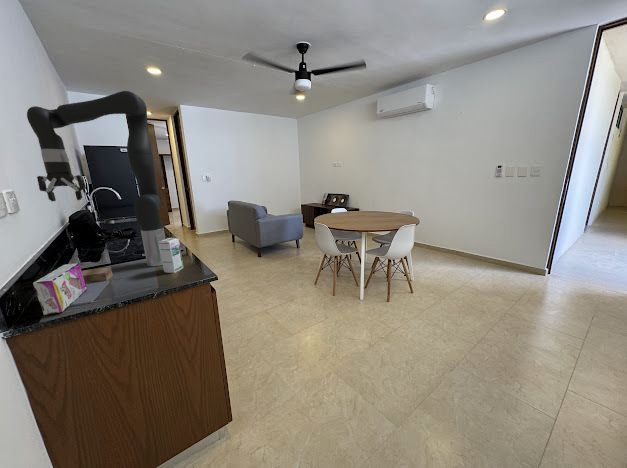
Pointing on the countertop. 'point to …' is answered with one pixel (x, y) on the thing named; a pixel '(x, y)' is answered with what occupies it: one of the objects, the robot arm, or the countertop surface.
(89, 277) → the walnut step
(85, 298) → the mat
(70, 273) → the candy bar box
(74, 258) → the countertop surface
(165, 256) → the syrup box
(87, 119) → the robot arm
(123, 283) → the countertop surface
